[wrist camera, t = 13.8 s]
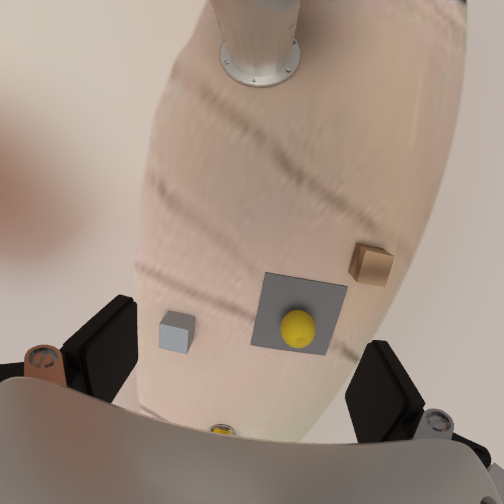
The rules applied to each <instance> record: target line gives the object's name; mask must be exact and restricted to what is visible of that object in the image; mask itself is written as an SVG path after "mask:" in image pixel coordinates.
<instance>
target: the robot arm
mask: <svg viewBox="0 0 504 504" xmlns="http://www.w3.org/2000/svg"><path fill="white" fill-rule="evenodd" d="M211 3H212V5H213V8H214V11H215V14H216V17H217V20H218V23H219V26H220V29H221V32H222V34H223V37H224V41H223V43H222V46H221V49H220V60H221V63H222V66H223V68H224V70H225V71H226V72H227V74H228V75H229V76H230V77H232V78H233V79H234V80H236V81H237V82H239V83H241V84H244V85H247V86H252V87H270V86H274V85H277V84H280V83H282V82H284V81H285V80H287V79H288V78H289V77H291V76H292V74H293V73H294V72H295V71H296V69H297V67H298V65H299V62H300V56H301V53H300V47H299V44H298V42H297V40H296V39H295V37H294V36H295V31H296V25H297V20H298V15H299V10H300V4H301V0H211ZM293 44H294V45H293ZM227 63H229V64H228V65H226V64H227ZM287 71H288V72H289V73H287ZM253 81H255V82H256V83H253ZM137 361H138V335H137V303H136V302H134V300H133V298H132V297H127V296H124V295H118V296H116V297H115V298H114V299H113V300H112V301H111V302H109V303H108V304H107V305H106V306H105V307H104V308H103V309H101V310H100V311H99V312H98V313H97V314H96V315H95V316H94V317H92V318H91V319H90V320H89V321H88V322H87V323H86V324H85V325H83V326H82V327H81V328H80V329H79V330H78V331H77V332H76V333H75V334H74V335H72V336H71V337H70V338H69V339H68V340H67V341H66V342H65V343H64V344H63V347H62V348H61V349H60V350H58V349H57V348H55V347H54V346H50V345H38V346H35V347H32V348H31V349H29V350H28V351H27V353H26V354H25V358H24V362H19V363H10V364H0V504H504V470H503V469H502V468H501V467H500V466H498V465H497V464H496V463H493V464H492V465H491V456H490V454H489V452H488V450H487V449H486V448H485V447H483V446H481V445H479V444H477V443H474V442H472V441H470V440H468V439H466V438H464V437H461V436H459V435H457V434H455V433H453V429H454V423H453V420H452V418H451V417H450V416H449V415H448V414H447V413H445V412H444V411H442V410H439V409H428V410H426V411H424V409H423V407H424V405H425V402H424V400H423V399H422V397H421V395H420V393H419V392H418V390H417V388H416V387H415V385H414V383H413V382H412V380H411V378H410V377H409V375H408V374H407V372H406V370H405V369H404V367H403V366H402V364H401V362H400V361H399V359H398V358H397V356H396V355H395V353H394V352H393V350H392V349H391V347H390V345H389V344H388V342H387V341H381V340H373V341H372V342H371V343H368V344H367V346H366V348H365V350H364V353H363V355H362V358H361V360H360V362H359V364H358V367H357V369H356V371H355V373H354V376H353V378H352V380H351V382H350V384H349V386H348V388H347V391H346V394H345V400H346V403H347V407H348V410H349V413H350V417H351V420H352V423H353V427H354V430H355V434H356V437H357V441H358V443H355V444H354V443H351V444H318V443H296V442H282V441H271V440H262V439H254V438H246V437H239V436H233V435H227V434H221V433H216V432H211V431H206V430H201V429H196V428H192V427H187V426H183V425H179V424H175V423H171V422H167V421H164V420H160V419H157V418H153V417H150V416H147V415H143V414H140V413H137V412H134V411H131V410H128V409H125V408H122V407H119V406H116V405H113V404H111V403H112V401H113V399H114V398H115V396H116V395H117V393H118V392H119V390H120V388H121V387H122V385H123V384H124V382H125V381H126V379H127V377H128V376H129V374H130V373H131V371H132V370H133V368H134V367H135V365H136V363H137Z"/></svg>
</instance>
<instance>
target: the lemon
mask: <svg viewBox="0 0 504 504" xmlns="http://www.w3.org/2000/svg"><path fill="white" fill-rule="evenodd" d="M280 329H281V335H282V338H283V340H284V341H285V342H286V343H287V344H288V345H289V346H291V347H293V348H303V347H306V346H307V345H309V344H310V343H311V342H312V340H313V338H314V336H315V330H316V328H315V323H314V320H313V318H312V317H311V316H310V315H309V314H308V313H307V312H305V311H302V310H294V311H291V312H289V313H288V314H286V315H285V317H284V318H283V320H282V322H281V327H280Z"/></svg>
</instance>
